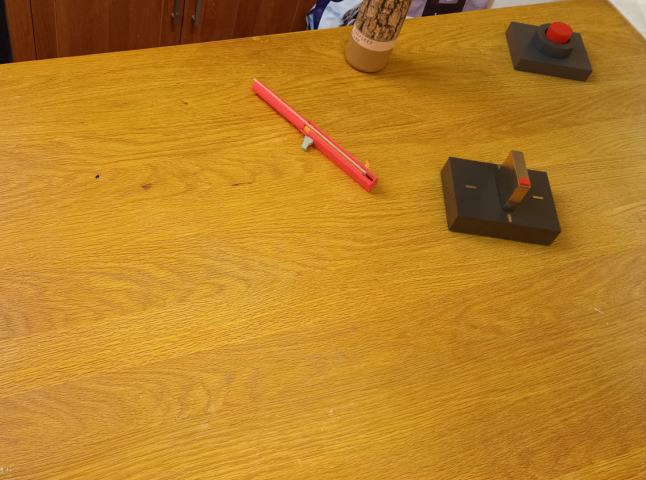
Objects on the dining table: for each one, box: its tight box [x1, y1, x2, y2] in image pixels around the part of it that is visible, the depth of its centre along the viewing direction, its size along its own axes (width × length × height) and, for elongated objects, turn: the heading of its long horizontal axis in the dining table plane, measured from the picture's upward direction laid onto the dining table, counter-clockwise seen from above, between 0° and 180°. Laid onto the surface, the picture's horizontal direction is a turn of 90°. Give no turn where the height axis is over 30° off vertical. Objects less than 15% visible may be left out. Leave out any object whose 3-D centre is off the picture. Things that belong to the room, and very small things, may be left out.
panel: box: [440, 156, 562, 247], centre depth 100 cm, size 14×11×3 cm
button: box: [546, 21, 574, 44], centre depth 119 cm, size 4×4×2 cm
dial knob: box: [496, 149, 531, 211], centre depth 97 cm, size 6×2×5 cm, turn 175°
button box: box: [505, 20, 594, 83], centre depth 121 cm, size 12×10×4 cm
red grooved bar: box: [251, 78, 379, 193], centre depth 103 cm, size 24×2×5 cm
